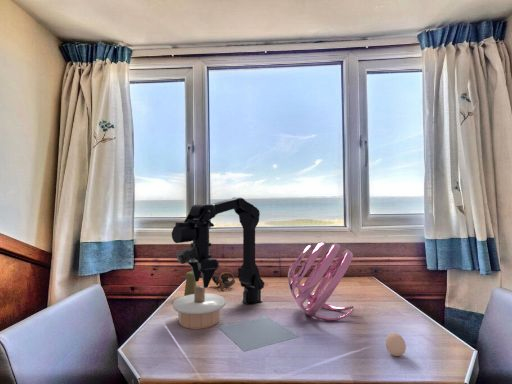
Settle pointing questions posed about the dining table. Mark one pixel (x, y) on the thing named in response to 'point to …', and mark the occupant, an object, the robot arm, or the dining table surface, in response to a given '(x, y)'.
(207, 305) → the ceramic lid
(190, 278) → the green tapered peg
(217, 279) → the pottery mug
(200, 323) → the terracotta bowl
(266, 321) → the rubber mat
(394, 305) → the dining table surface
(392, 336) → the egg
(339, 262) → the spiral basket
